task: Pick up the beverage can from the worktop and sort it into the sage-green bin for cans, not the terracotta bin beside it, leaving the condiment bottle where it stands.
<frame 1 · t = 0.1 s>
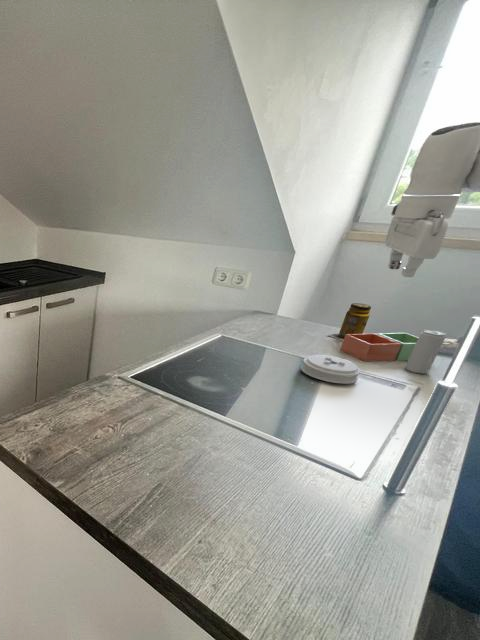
hand: (399, 272, 91), 31 cm above the counter, tool pointing down, fingers open, 8 cm apart
condiment: (346, 338, 137), on the counter
lid: (326, 376, 110), on the counter
beverage can: (415, 371, 112), on the counter
green bin: (397, 354, 123), on the counter
terracotta bin: (366, 355, 123), on the counter
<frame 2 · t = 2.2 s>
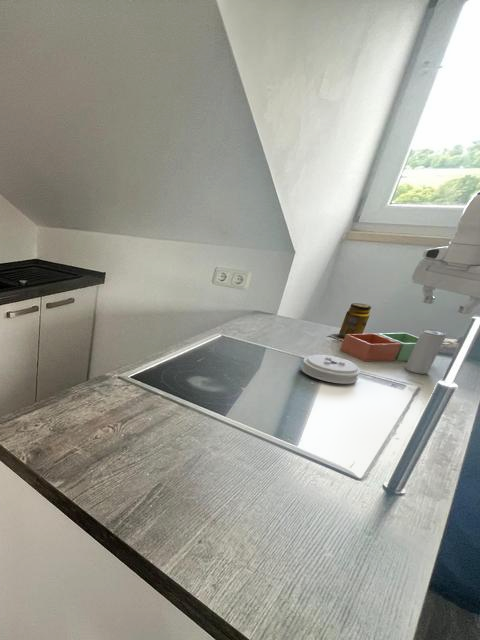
hand: (444, 307, 104), 19 cm above the counter, tool pointing down, fingers open, 8 cm apart
nothing on the counter moved.
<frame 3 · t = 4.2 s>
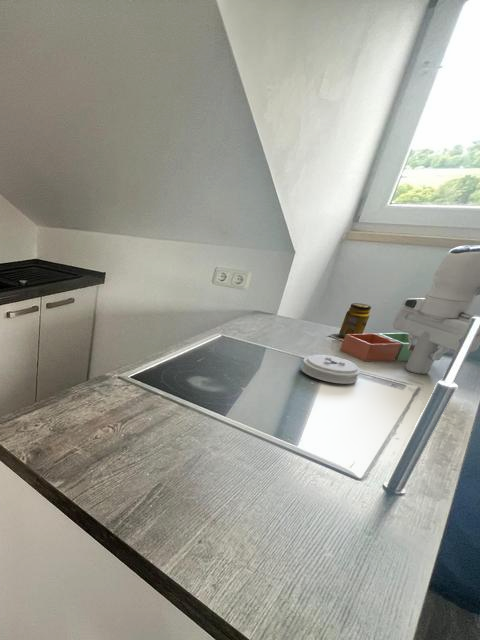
hand: (422, 354, 110), 5 cm above the counter, tool pointing down, fingers closed on beverage can, 5 cm apart
beverage can: (415, 371, 112), on the counter, touching gripper
everything else where it was.
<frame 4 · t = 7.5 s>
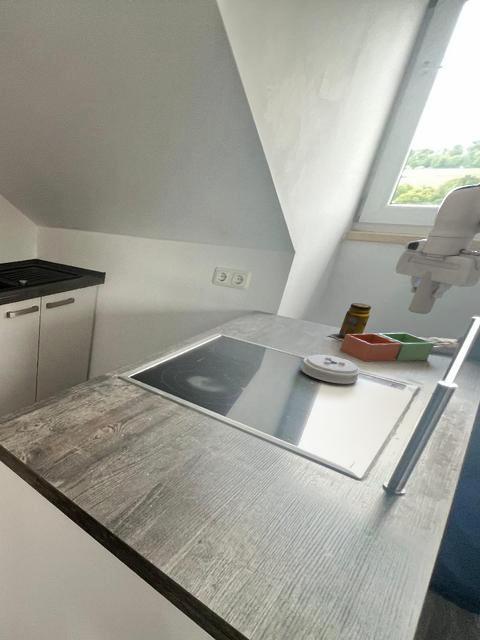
hand: (424, 295, 114), 19 cm above the counter, tool pointing down, fingers closed on beverage can, 5 cm apart
beverage can: (418, 312, 117), point 14 cm above the counter, touching gripper
everything else where it was.
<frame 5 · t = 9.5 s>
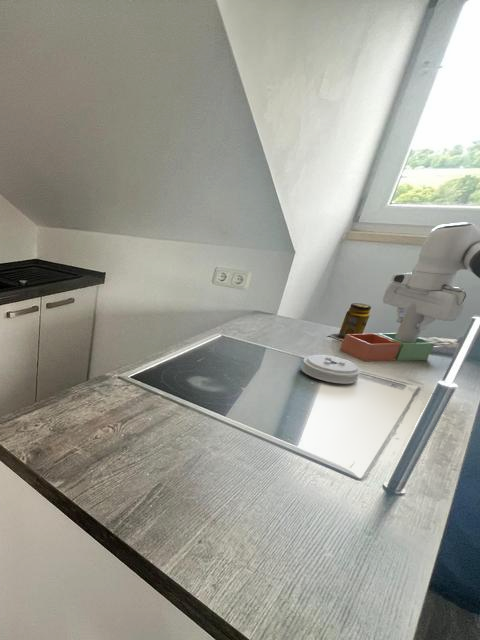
hand: (410, 325, 119), 10 cm above the counter, tool pointing down, fingers closed on beverage can, 5 cm apart
beverage can: (404, 342, 121), point 4 cm above the counter, touching gripper
everything else where it was.
when the fingers open (6 cm above the counter, at t = 11.3 s): beverage can stays where it is, resting on green bin.
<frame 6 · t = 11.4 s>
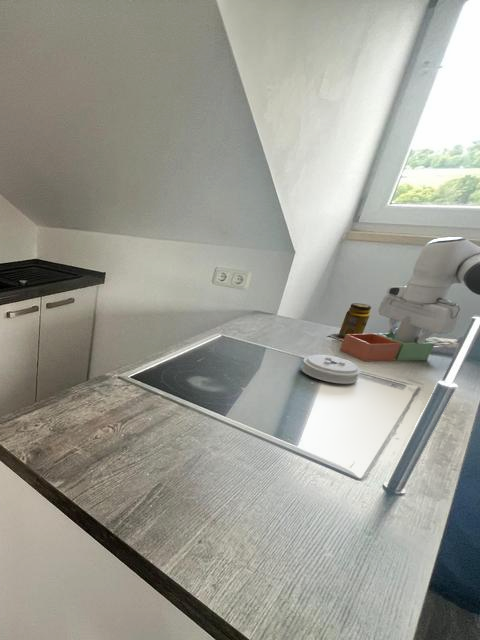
hand: (405, 337, 120), 6 cm above the counter, tool pointing down, fingers open, 7 cm apart
beverage can: (399, 353, 123), resting on green bin
everything else where it was.
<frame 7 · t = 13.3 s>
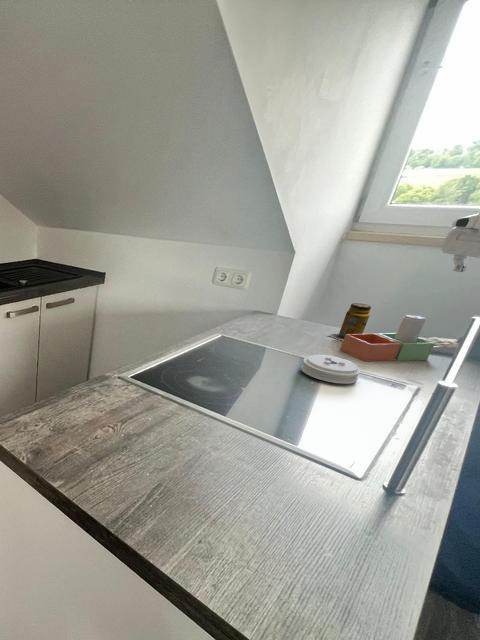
hand: (477, 274, 106), 26 cm above the counter, tool pointing down, fingers open, 8 cm apart
nothing on the counter moved.
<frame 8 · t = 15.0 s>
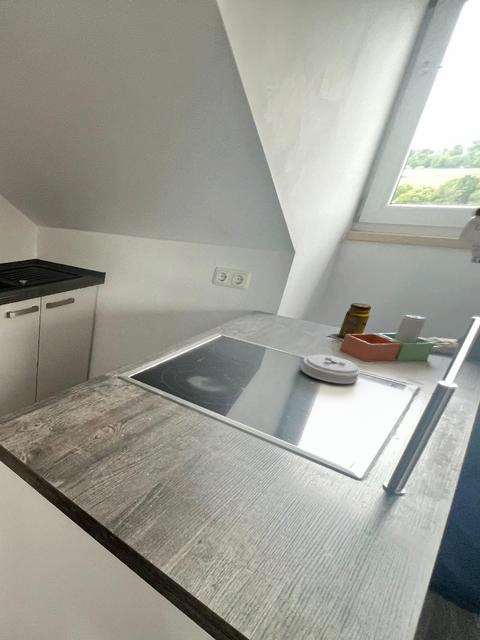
nothing on the counter moved.
at the end: beverage can 0.3 cm off-centre in the green bin, point 0.4 cm above the green bin's base; beverage can tilted 0°; condiment moved 0.2 cm from its start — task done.
